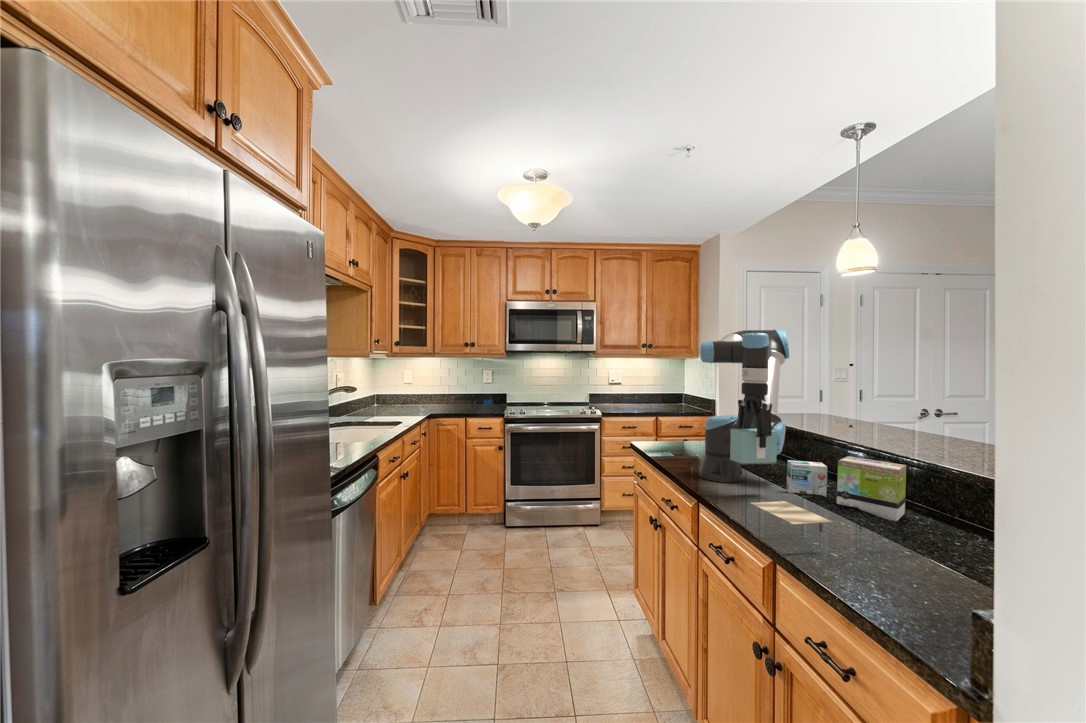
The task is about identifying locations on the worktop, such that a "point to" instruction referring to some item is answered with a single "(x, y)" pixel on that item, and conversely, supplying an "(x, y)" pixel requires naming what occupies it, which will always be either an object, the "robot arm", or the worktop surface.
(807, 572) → the worktop surface
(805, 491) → the light bulb box
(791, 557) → the worktop surface
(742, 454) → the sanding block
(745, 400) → the robot arm
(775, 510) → the birch board
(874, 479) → the tea box
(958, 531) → the worktop surface
